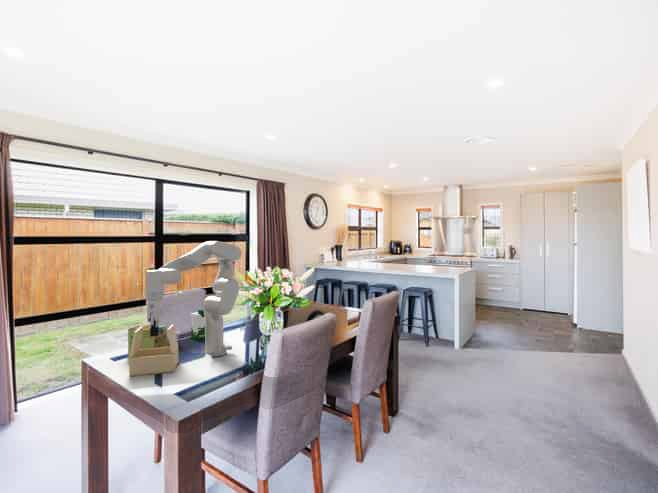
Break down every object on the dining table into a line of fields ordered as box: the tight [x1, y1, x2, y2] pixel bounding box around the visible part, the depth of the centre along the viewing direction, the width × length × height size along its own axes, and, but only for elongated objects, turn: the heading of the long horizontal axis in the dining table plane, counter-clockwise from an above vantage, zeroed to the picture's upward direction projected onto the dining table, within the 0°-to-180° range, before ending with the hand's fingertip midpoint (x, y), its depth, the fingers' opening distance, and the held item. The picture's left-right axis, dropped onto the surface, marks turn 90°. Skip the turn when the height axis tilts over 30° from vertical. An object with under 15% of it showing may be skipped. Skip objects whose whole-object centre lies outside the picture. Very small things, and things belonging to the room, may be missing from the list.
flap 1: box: [130, 326, 144, 357], centre depth 160 cm, size 1×12×11 cm, turn 15°
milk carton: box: [190, 309, 205, 340], centre depth 218 cm, size 9×9×20 cm
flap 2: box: [167, 323, 179, 353], centre depth 164 cm, size 1×12×11 cm, turn 15°
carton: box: [128, 346, 179, 377], centre depth 162 cm, size 18×14×8 cm
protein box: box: [127, 324, 168, 359], centre depth 181 cm, size 10×15×16 cm
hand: (154, 335), depth 162 cm, fingers closed
